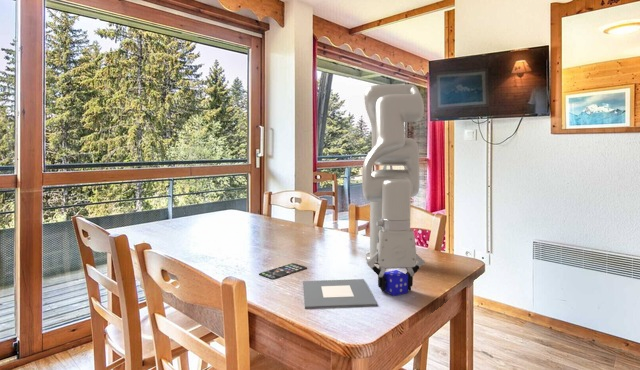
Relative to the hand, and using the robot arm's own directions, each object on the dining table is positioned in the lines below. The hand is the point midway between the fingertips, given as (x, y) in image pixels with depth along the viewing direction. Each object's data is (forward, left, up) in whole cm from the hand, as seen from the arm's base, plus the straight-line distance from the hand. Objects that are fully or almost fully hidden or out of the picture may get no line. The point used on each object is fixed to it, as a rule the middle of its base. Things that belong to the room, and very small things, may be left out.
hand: (395, 288), depth 104 cm
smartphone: (-20, -31, -1) cm, 37 cm away
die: (0, 0, -1) cm, 1 cm away
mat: (0, -16, -1) cm, 16 cm away
